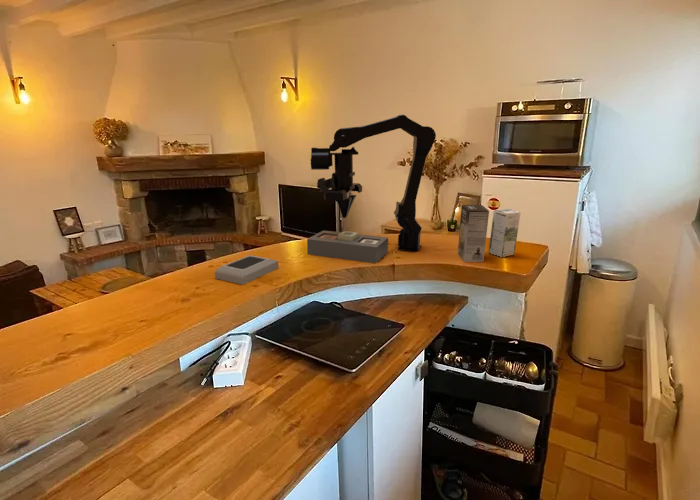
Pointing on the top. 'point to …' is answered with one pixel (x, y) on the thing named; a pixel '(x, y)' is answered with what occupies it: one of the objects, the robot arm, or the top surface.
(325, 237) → the terracotta key
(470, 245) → the coffee box
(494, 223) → the syrup box
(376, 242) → the cream key
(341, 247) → the gray keypad housing
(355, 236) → the sage key
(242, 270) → the grey flat block
